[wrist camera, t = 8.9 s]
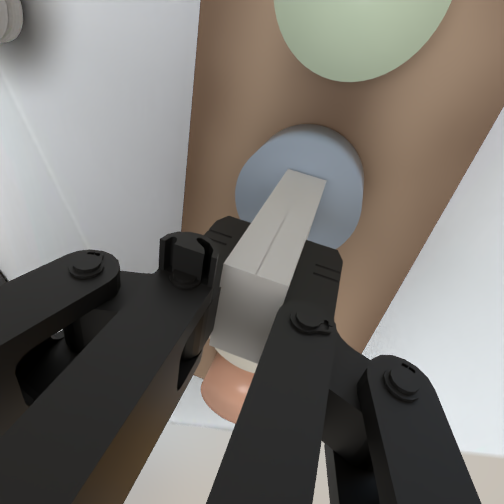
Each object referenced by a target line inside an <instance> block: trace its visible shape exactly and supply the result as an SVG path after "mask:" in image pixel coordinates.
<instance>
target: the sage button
mask: <svg viewBox="0 0 504 504" xmlns="http://www.w3.org/2000/svg"><path fill="white" fill-rule="evenodd" d="M451 1H452V0H274V8H275V13H276V19H277V22H278V25H279V28H280V31H281V34H282V36H283V38H284V40H285V42H286V44H287V46H288V47H289V49H290V51H291V52H292V53H293V54H294V56H295V57H296V58H297V59H298V60H299V61H300V62H301V63H302V64H303V65H304V66H305V67H307V68H308V69H309V70H311V71H312V72H314V73H316V74H318V75H320V76H322V77H324V78H327V79H330V80H335V81H340V82H358V81H365V80H369V79H373V78H376V77H379V76H381V75H384V74H386V73H388V72H390V71H392V70H394V69H396V68H397V67H399V66H400V65H402V64H403V63H405V62H406V61H407V60H409V59H410V58H411V57H412V56H413V55H414V54H416V53H417V52H418V51H419V50H420V49H421V48H422V46H423V45H424V44H425V43H426V42H427V41H428V40H429V38H430V37H431V36H432V34H433V33H434V32H435V31H436V29H437V27H438V26H439V24H440V23H441V21H442V19H443V18H444V16H445V14H446V12H447V10H448V8H449V6H450V4H451Z"/></svg>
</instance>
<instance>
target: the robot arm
mask: <svg viewBox="0 0 504 504" xmlns="http://www.w3.org/2000/svg"><path fill="white" fill-rule="evenodd" d="M326 181H327V180H323V179H320V178H317V177H313V176H310V175H307V174H303V173H300V172H297V171H293V170H290V169H288V170H287V171H286V172H285V174H284V175H283V177H282V178H281V180H280V181H279V183H278V184H277V186H276V187H275V189H274V190H273V192H272V193H271V195H270V196H269V197H268V199H267V200H266V202H265V203H264V205H263V206H262V208H261V209H260V211H259V212H258V214H257V215H256V217H255V218H254V220H253V221H252V222H251V223H250V222H247V221H244V220H241V219H238V218H235V217H232V216H226V217H224V218H222V219H219V220H217V221H216V222H215V223H214V224H213V225H212V226H211V227H210V228H209V231H207V232H206V233H205V234H204V235H202V234H198V233H193V232H175V233H171V234H167V235H166V236H164V237H162V238H161V239H160V249H159V269H158V270H157V271H156V272H155V273H153V274H145V273H134V272H126V271H120V266H119V262H118V260H117V259H116V258H115V257H114V256H113V255H111V254H109V253H106V252H104V251H98V250H82V251H76V252H73V253H70V254H67V255H65V256H63V257H61V258H59V259H56V260H54V261H52V262H50V263H48V264H46V265H43V266H41V267H39V268H37V269H35V270H33V271H31V272H28V273H26V274H24V275H22V276H20V277H18V278H16V279H13V280H11V281H9V282H6V281H5V279H4V278H3V277H2V275H1V274H0V504H123V503H124V501H125V499H126V498H127V496H128V494H129V492H130V490H131V488H132V486H133V485H134V483H135V481H136V479H137V477H138V475H139V474H140V472H141V470H142V468H143V466H144V465H145V463H146V461H147V459H148V457H149V455H150V453H151V452H152V450H153V448H154V446H155V444H156V442H157V441H158V439H159V437H160V435H161V433H162V431H163V430H164V428H165V426H166V424H167V422H168V420H169V419H170V417H171V415H172V413H173V411H174V409H175V407H176V406H177V404H178V402H179V400H180V398H181V396H182V395H183V393H184V391H185V389H186V387H187V385H188V384H189V382H190V380H191V378H192V376H193V374H194V373H195V371H196V369H197V367H198V365H199V363H200V361H201V357H202V353H203V347H204V345H205V344H206V342H207V340H208V338H209V336H210V335H211V337H210V342H209V345H210V346H213V347H215V348H218V349H220V350H223V351H225V352H228V353H231V354H233V355H236V356H238V357H241V358H243V359H246V360H249V361H251V362H254V363H256V364H258V365H257V368H256V371H255V373H254V376H253V379H252V381H251V384H250V387H249V389H248V392H247V395H246V398H245V400H244V403H243V406H242V408H241V411H240V414H239V416H238V419H237V422H236V424H235V427H234V430H233V432H232V435H231V438H230V441H229V443H228V446H227V449H226V452H225V454H224V457H223V459H222V462H221V465H220V467H219V470H218V473H217V476H216V478H215V481H214V484H213V487H212V489H211V492H210V494H209V497H208V500H207V502H206V504H312V502H313V495H314V488H315V481H316V475H317V468H318V461H319V454H320V447H321V440H322V441H323V442H324V443H325V455H326V456H325V457H326V466H327V477H328V486H329V497H330V504H481V502H480V499H479V497H478V494H477V492H476V489H475V487H474V484H473V482H472V480H471V477H470V475H469V472H468V470H467V467H466V465H465V462H464V460H463V457H462V455H461V452H460V450H459V448H458V445H457V443H456V440H455V438H454V435H453V433H452V430H451V428H450V425H449V423H448V421H447V418H446V416H445V413H444V411H443V408H442V406H441V403H440V401H439V398H438V396H437V394H436V391H435V389H434V387H433V386H432V384H431V382H430V381H429V379H428V377H427V376H426V375H425V374H424V373H422V372H421V371H420V370H419V369H418V368H417V367H416V366H414V365H413V364H411V363H410V362H408V361H406V360H405V359H402V358H399V357H396V356H393V355H380V356H378V357H375V358H373V359H372V360H369V359H368V358H366V357H365V356H363V355H362V354H360V353H359V352H357V351H356V350H354V349H353V348H352V347H351V346H349V345H348V344H347V343H346V342H345V341H344V340H343V339H342V338H341V336H340V335H339V333H338V331H337V329H336V323H335V322H334V316H335V309H336V303H337V297H338V291H339V284H340V278H341V272H342V266H343V260H342V258H341V256H340V254H339V252H338V250H336V249H333V248H330V247H327V246H324V245H321V244H318V243H315V242H312V241H308V240H307V238H308V235H309V232H310V229H311V226H312V223H313V220H314V217H315V214H316V211H317V208H318V205H319V202H320V199H321V196H322V193H323V190H324V187H325V184H326ZM62 329H63V330H62ZM60 330H62V331H60ZM58 331H60V332H58ZM57 332H58V333H57ZM55 333H56V334H55Z"/></svg>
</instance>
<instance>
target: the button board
mask: <svg viewBox="0 0 504 504" xmlns="http://www.w3.org/2000/svg"><path fill="white" fill-rule="evenodd" d="M503 107H504V0H452V1H451V4H450V6H449V8H448V10H447V12H446V14H445V16H444V18H443V19H442V21H441V23H440V24H439V26H438V27H437V29H436V31H435V32H434V33H433V34H432V36H431V37H430V38H429V40H428V41H427V42H426V43H425V44H424V45H423V46H422V48H421V49H420V50H419V51H418V52H417V53H416V54H414V55H413V56H412V57H411V58H410V59H409V60H407V61H406V62H405V63H403V64H402V65H400V66H399V67H397V68H396V69H394V70H392V71H390V72H388V73H386V74H384V75H381V76H379V77H376V78H373V79H369V80H365V81H358V82H340V81H335V80H330V79H327V78H324V77H322V76H320V75H318V74H316V73H314V72H312V71H311V70H309V69H308V68H307V67H305V66H304V65H303V64H302V63H301V62H300V61H299V60H298V59H297V58H296V57H295V56H294V54H293V53H292V52H291V51H290V49H289V47H288V46H287V44H286V42H285V40H284V38H283V36H282V34H281V31H280V28H279V25H278V22H277V19H276V13H275V8H274V0H201V2H200V14H199V26H198V38H197V50H196V61H195V73H194V85H193V97H192V109H191V121H190V133H189V145H188V156H187V168H186V180H185V192H184V204H183V216H182V228H181V232H193V233H198V234H202V235H204V234H205V233H206V232H207V231H209V228H210V227H211V226H212V225H213V224H214V223H215V222H216V221H217V220H219V219H222V218H224V217H226V216H232V217H235V218H238V219H240V218H239V215H238V212H237V208H236V202H235V189H236V183H237V179H238V176H239V174H240V171H241V170H242V168H243V166H244V165H245V163H246V162H247V161H248V160H249V158H250V157H251V156H252V155H253V154H254V153H256V152H257V151H258V150H259V149H260V148H261V147H262V146H263V145H264V144H265V143H266V142H267V141H268V140H269V139H270V138H271V137H272V136H273V135H275V134H276V133H278V132H279V131H281V130H283V129H285V128H288V127H291V126H295V125H300V124H315V125H320V126H324V127H327V128H330V129H332V130H334V131H336V132H338V133H339V134H341V135H342V136H343V137H345V138H346V139H347V140H348V141H349V142H350V143H351V145H352V146H353V147H354V148H355V150H356V152H357V153H358V155H359V157H360V160H361V162H362V166H363V171H364V188H363V199H362V209H361V215H360V219H359V221H358V224H357V226H356V228H355V230H354V232H353V233H352V235H351V236H350V237H349V238H348V239H347V240H346V242H345V243H343V244H342V245H341V246H340V247H338V248H337V249H336V250H338V252H339V254H340V256H341V258H342V260H343V266H342V272H341V278H340V284H339V291H338V297H337V303H336V309H335V316H334V322H335V323H336V329H337V331H338V333H339V335H340V336H341V338H342V339H343V340H344V341H345V342H346V343H347V344H348V345H349V346H351V347H352V348H353V349H354V350H356V351H357V352H359V353H360V354H362V352H363V350H364V348H365V347H366V345H367V343H368V341H369V340H370V338H371V336H372V335H373V333H374V331H375V329H376V328H377V326H378V324H379V322H380V321H381V319H382V317H383V315H384V314H385V312H386V310H387V308H388V307H389V305H390V303H391V301H392V300H393V298H394V296H395V295H396V293H397V291H398V289H399V288H400V286H401V284H402V282H403V281H404V279H405V277H406V275H407V274H408V272H409V270H410V268H411V267H412V265H413V263H414V261H415V260H416V258H417V256H418V255H419V253H420V251H421V249H422V248H423V246H424V244H425V242H426V241H427V239H428V237H429V235H430V234H431V232H432V230H433V228H434V227H435V225H436V223H437V221H438V220H439V218H440V216H441V215H442V213H443V211H444V209H445V208H446V206H447V204H448V202H449V201H450V199H451V197H452V195H453V194H454V192H455V190H456V188H457V187H458V185H459V183H460V181H461V180H462V178H463V176H464V175H465V173H466V171H467V169H468V168H469V166H470V164H471V162H472V161H473V159H474V157H475V155H476V154H477V152H478V150H479V148H480V147H481V145H482V143H483V141H484V140H485V138H486V136H487V135H488V133H489V131H490V129H491V128H492V126H493V124H494V122H495V121H496V119H497V117H498V115H499V114H500V112H501V110H502V108H503ZM209 342H210V339H209V338H208V340H207V342H206V344H205V345H204V347H203V353H202V357H201V361H200V363H199V365H198V367H197V369H196V371H195V373H194V374H193V375H195V376H197V377H200V378H202V379H204V378H205V376H206V374H207V372H208V370H209V368H210V366H211V364H212V362H213V360H214V358H215V356H216V354H217V352H218V351H217V350H216V349H215V347H213V346H210V345H209Z"/></svg>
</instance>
